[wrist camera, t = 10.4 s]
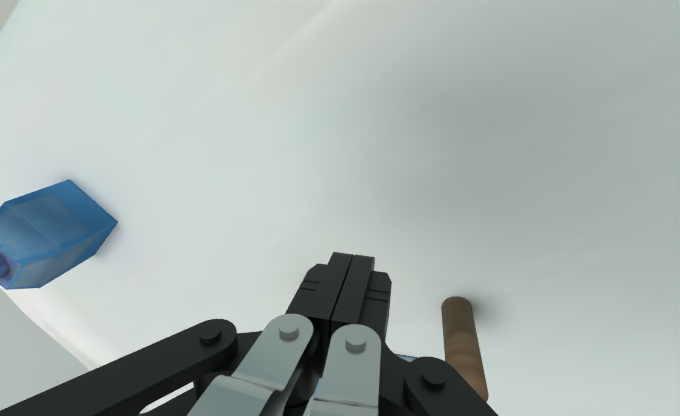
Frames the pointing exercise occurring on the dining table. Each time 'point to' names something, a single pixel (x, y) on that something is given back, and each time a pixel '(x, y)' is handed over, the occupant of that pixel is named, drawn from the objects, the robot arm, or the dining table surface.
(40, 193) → the perfume bottle
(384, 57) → the dining table surface
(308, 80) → the dining table surface
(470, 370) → the post
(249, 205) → the dining table surface
